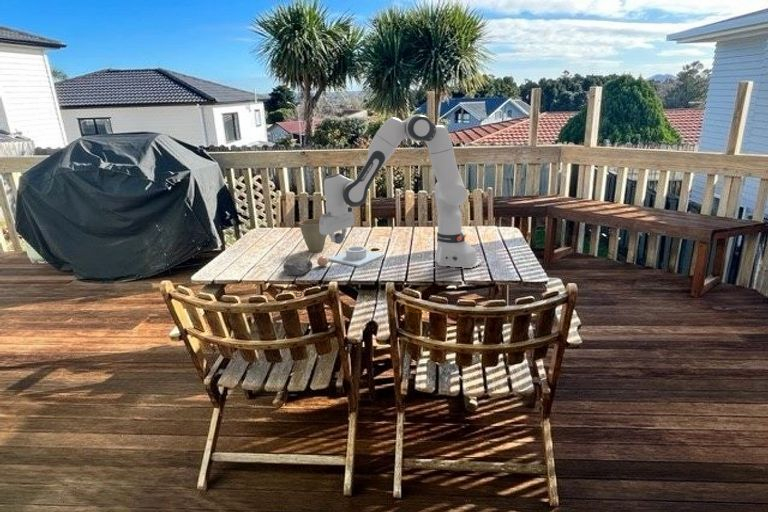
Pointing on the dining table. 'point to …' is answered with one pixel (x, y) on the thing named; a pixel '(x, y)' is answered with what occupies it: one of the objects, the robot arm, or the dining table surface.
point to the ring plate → (356, 262)
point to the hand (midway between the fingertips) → (338, 239)
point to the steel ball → (338, 238)
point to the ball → (322, 261)
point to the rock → (297, 266)
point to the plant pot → (312, 235)
